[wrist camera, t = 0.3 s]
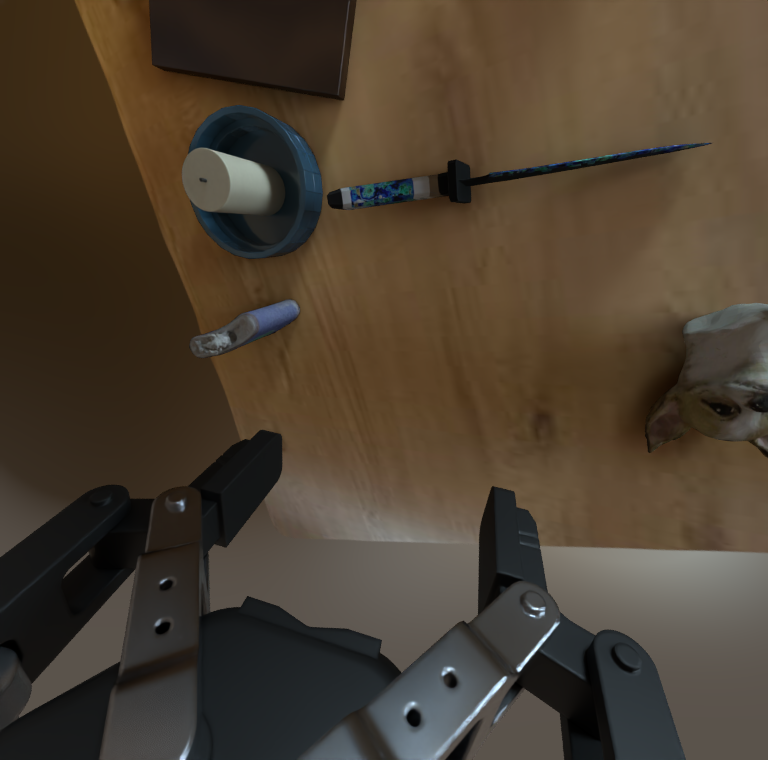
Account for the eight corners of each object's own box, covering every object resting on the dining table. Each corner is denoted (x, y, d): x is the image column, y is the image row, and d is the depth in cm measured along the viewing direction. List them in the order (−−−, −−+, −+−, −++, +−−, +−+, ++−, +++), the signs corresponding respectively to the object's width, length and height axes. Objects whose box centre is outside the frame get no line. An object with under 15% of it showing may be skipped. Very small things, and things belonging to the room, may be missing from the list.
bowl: (213, 107, 38) (184, 95, 35) (331, 129, 36) (313, 118, 33) (212, 242, 44) (187, 243, 40) (315, 268, 42) (298, 271, 38)
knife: (338, 213, 37) (324, 211, 33) (335, 178, 36) (320, 172, 32) (683, 186, 32) (717, 179, 28) (692, 145, 31) (728, 132, 27)
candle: (246, 161, 39) (175, 141, 31) (287, 169, 38) (226, 151, 30) (244, 210, 41) (177, 205, 33) (283, 219, 40) (225, 216, 32)
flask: (294, 295, 43) (236, 313, 34) (306, 318, 44) (252, 343, 34) (236, 323, 47) (169, 346, 37) (248, 344, 48) (185, 373, 38)
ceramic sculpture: (908, 308, 23) (827, 502, 29) (807, 282, 30) (759, 440, 36) (696, 318, 26) (662, 491, 32) (652, 292, 34) (632, 436, 39)
